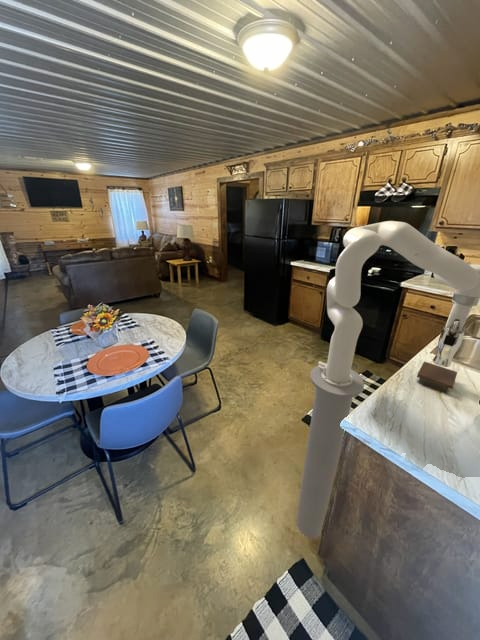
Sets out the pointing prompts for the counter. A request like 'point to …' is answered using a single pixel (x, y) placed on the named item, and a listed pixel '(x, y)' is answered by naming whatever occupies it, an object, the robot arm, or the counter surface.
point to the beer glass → (447, 348)
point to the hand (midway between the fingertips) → (449, 341)
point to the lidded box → (436, 377)
